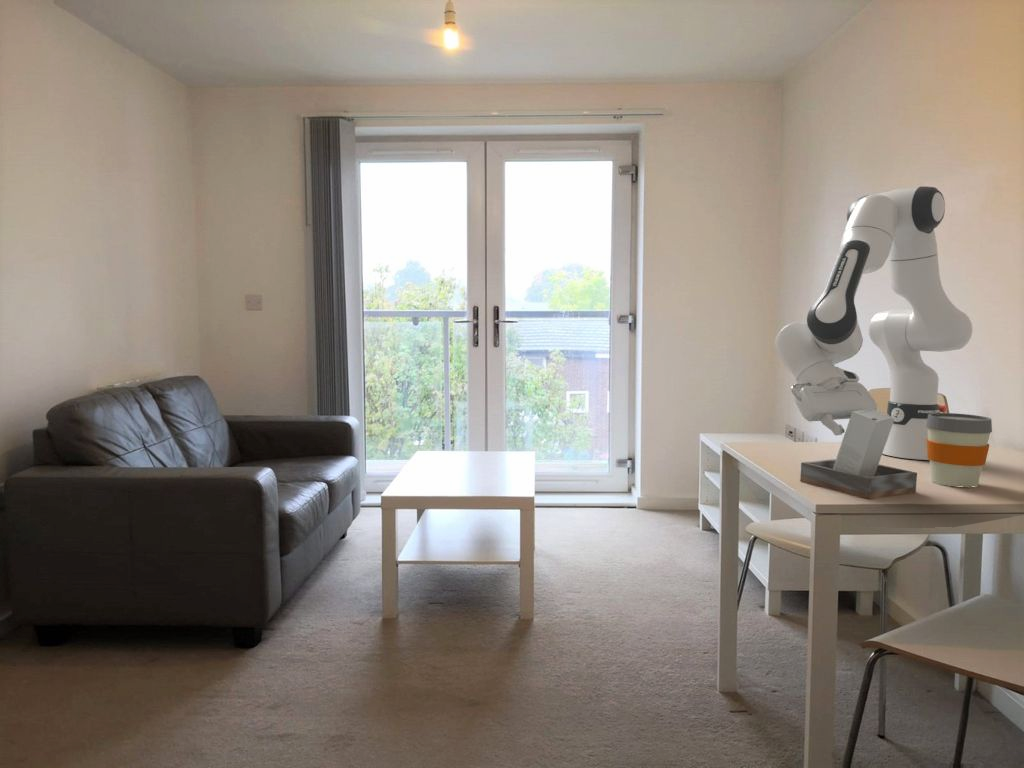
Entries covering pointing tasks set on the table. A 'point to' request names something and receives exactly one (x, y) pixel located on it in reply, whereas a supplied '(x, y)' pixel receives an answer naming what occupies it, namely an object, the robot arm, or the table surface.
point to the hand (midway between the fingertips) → (855, 432)
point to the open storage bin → (859, 480)
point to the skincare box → (863, 442)
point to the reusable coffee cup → (957, 447)
